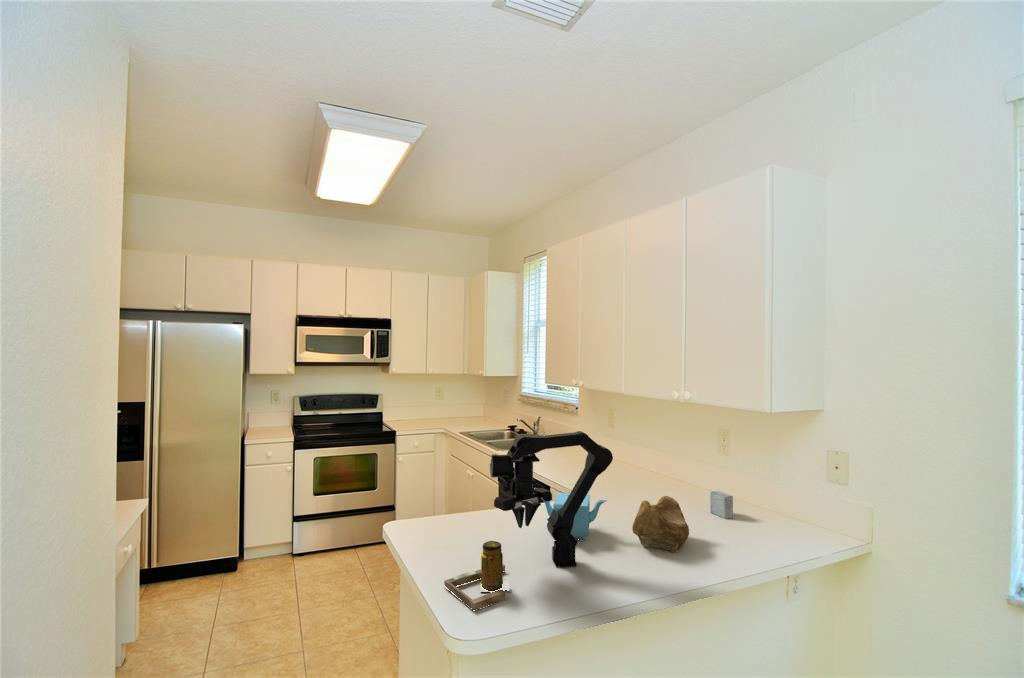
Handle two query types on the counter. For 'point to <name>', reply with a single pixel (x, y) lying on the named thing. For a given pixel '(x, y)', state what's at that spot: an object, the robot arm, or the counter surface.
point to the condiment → (492, 566)
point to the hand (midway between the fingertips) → (523, 526)
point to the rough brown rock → (661, 525)
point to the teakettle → (577, 514)
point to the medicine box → (721, 504)
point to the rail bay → (472, 603)
